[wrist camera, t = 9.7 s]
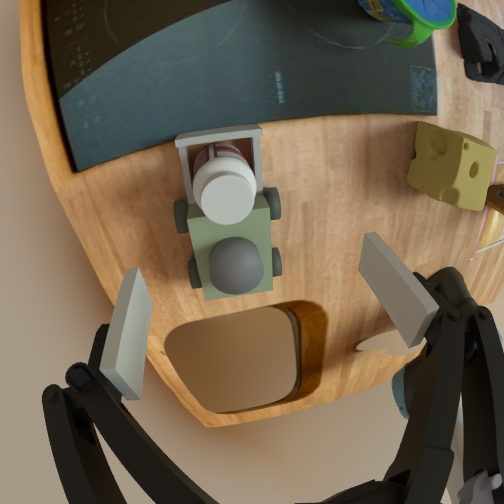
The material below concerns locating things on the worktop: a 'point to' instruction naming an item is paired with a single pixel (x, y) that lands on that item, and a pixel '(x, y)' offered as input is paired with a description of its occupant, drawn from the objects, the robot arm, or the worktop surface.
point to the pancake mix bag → (496, 198)
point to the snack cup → (413, 16)
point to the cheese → (451, 166)
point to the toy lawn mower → (229, 227)
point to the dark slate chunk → (481, 46)
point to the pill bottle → (223, 184)
